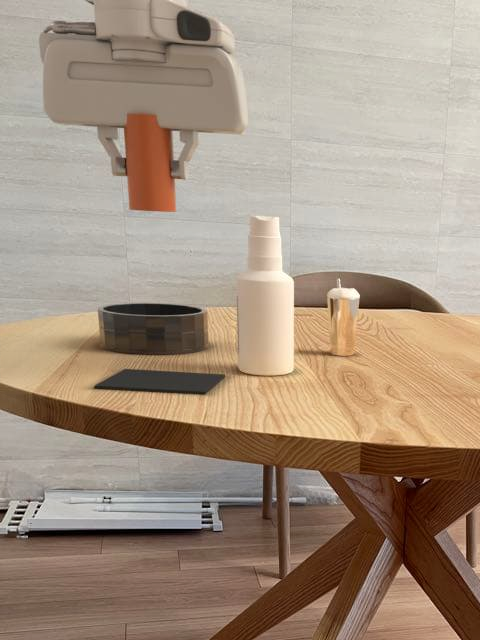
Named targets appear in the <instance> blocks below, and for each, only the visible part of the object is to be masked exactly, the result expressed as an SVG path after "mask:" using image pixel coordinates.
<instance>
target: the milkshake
mask: <svg viewBox="0 0 480 640" xmlns="http://www.w3.org/2000/svg"><path fill="white" fill-rule="evenodd" d="M326 297H327V298H326V300H327V313H328V332H329V334H328V335H329V350H330V354H331V355H333V356H338V357H347V356H348V357H350V356H353V355H355V354H354V353H355V344H356V336H357V335H356V334H357V324H358V323H357V322H358V314H359V307H360V306H359V305H360V297H361V295H360V293H359V292H358V290H357V289H355V288H354V287H351V288H348V287H347V288H346V287H341V279H340V278H336V287H334V288H332V289H330V290H329V291H328V292H327V294H326Z"/></svg>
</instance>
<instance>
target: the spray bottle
mask: <svg viewBox="0 0 480 640" xmlns="http://www.w3.org/2000/svg"><path fill="white" fill-rule="evenodd" d="M247 247H248V248H247V249H248V250H247V252H248V253H247V269H246V270H245V271H243V272H242V273H240V274H238V275H237V277H236V279H235V282H236V284H235V285H236V287H235V288H236V325H237V326H236V327H237V329H236V330H237V362H238V363H237V366H238V367H237V368H238V370H239V371H240V372H241V373H244V374H248V375H251V376H253V375H254V376H263V377H266V376H268V377H270V376H272V377H273V376H283V375H288V374H291V373H293V372H294V369H295V281H294V279H293V277H291V276H290V275H289V274H288V273H286V272H284V270H283V254H282V236H281V232H280V217H279V216H269V215H250V216H249V231H248V235H247Z"/></svg>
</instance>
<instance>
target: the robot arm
mask: <svg viewBox="0 0 480 640" xmlns="http://www.w3.org/2000/svg"><path fill="white" fill-rule="evenodd" d="M85 1H86V2H87V3H89V4H91V5H92V6H93V12H94V22H93V21H90V22H88V21H77V22H75V21H74V22H69V21H68V22H67V21H65V20H53V21H52V22H51V24H50V25H47V26H45V27H44V28H43V29H42V30H41V32H40V34H39V36H38V46H39V56H40V60H41V63H42V65H43V69H42V70H43V71H42V102H43V111H44V113H45V114H46V116H47V117H48V118H49V120H50V121H51V122H53V123H54V124H57V125H62V126H78V127H95V128H96V129H97V130H96V131H97V138H98V140H99V142H100V143H101V145H102V147H103V148H104V150H105V152H106V153H107V155H108V157H110V167H111V168H110V169H111V174H112V176H115V177H127V167H126V157H123V156H122V154H121V152H120V150H119V148H118V147H117V145H116V143H115V141H114V140H118V139H119V130H118V129H124V126H126V124H127V114H148V115H157V120H158V124H159V126H160V127H161V128H165V129H172V132H173V131H174V132H179V141H180V142H181V143H183V144H184V146H183V148H182V150H181V152H180V154H179V156H178V159H174V160H170V167H171V168H172V170H171V177H172V179H175V180H183V181H184V180H185V181H188V180H190V166H189V165H190V163H189V162H191V160H192V158H193V156H194V154H195V152H196V150H197V148H198V146H199V133H206V134H207V133H208V134H209V133H210V134H223V135H224V134H225V135H243V133H244V132H245V130H246V129H247V128H248V125H249V110H248V109H249V107H248V97H247V91H246V83H245V78H244V74H243V71H242V68H241V66H240V64H239V63H238V61H237V60H236V59H235V58H234V57H233V56H232V54H234V52H235V49H236V39H235V36H234V34H233V31H232V30H231V29H230V28H229V27H228V26H227V25H226V24H224V23H223V22H222V21H220V20H218V19H217V18H214V17H213V16H210V15H207V14H205V13H203V12H201V11H198V10H196V9H192V8H190V7H188V0H85ZM50 31H52V32H50Z"/></svg>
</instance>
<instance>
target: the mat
mask: <svg viewBox="0 0 480 640" xmlns="http://www.w3.org/2000/svg"><path fill="white" fill-rule="evenodd" d="M225 378H226V374H224V373H207V372H206V373H205V372H191V371H190V372H189V371H170V370H152V369H151V370H150V369H136V368H135V369H132V368H123V369H122V370H120V371H118V372H117V373H115V374H113V375H111V376H109V377H107V378H105V379H103V380H102V381H100V382H98V383H96V384H94V389H101V390H117V391H118V390H119V391H138V392H153V393H154V392H155V393H174V394H190V395H191V394H193V395H206V394H208V393H209V392H210V391H211V390H212V389H214V388H215V387H216V386H217V385H218V384H219V383H221V382H222V381H223V380H224V379H225Z"/></svg>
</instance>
